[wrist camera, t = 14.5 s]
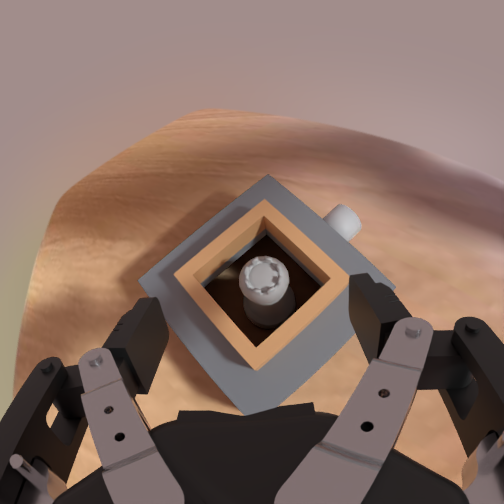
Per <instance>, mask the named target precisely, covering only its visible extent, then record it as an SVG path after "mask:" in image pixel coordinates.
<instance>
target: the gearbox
mask: <svg viewBox="0 0 504 504" xmlns="http://www.w3.org/2000/svg"><path fill="white" fill-rule="evenodd" d="M360 230H361V222H360V220H359V218H358V216H357V215H356V214H355V212H354V211H353V210H351V209H350V208H349V207H347V206H345V205H342V204H339V205H337V206H336V207H335V208H334V209H333V210H332V211H331V212H329V213H328V214H327V215H326V216H325V217H324V218H323V219H322V218H321V217H319V216H318V215H317V214H316V213H315V212H314V211H312V210H311V209H310V208H309V207H308V206H307V205H305V204H304V203H303V202H302V201H301V200H299V199H298V198H297V197H296V196H295V195H293V194H292V193H291V192H290V191H289V190H287V189H286V188H285V187H284V186H282V185H281V184H280V183H279V182H278V181H276V180H275V179H274V178H273V177H271V176H270V175H269V174H267V175H266V176H265V177H264V178H262V179H261V180H260V181H258V182H257V183H256V184H254V185H253V186H252V187H251V188H249V189H248V190H247V191H245V192H244V193H243V194H242V195H240V196H239V197H238V198H236V199H235V200H234V201H233V202H231V203H230V204H229V205H228V206H226V207H225V208H224V209H222V210H221V211H220V212H219V213H217V214H216V215H215V216H214V217H213V218H211V219H210V220H209V221H208V222H206V223H205V224H204V225H203V226H201V227H200V228H199V229H198V230H197V231H195V232H194V233H193V234H192V235H190V236H189V237H188V238H187V239H186V240H184V241H183V242H182V243H181V244H180V245H178V246H177V247H176V248H175V249H174V250H172V251H171V252H170V253H169V254H168V255H167V256H165V257H164V258H163V259H162V260H161V261H159V262H158V263H157V264H156V265H155V266H154V267H153V268H151V269H150V270H149V271H148V272H147V273H146V274H144V275H143V276H142V277H141V278H140V279H139V280H138V282H139V283H140V285H141V286H142V288H143V289H144V291H145V292H146V293H147V295H148V296H149V298H150V297H157V298H158V300H159V302H160V305H161V308H162V311H163V314H164V318H165V320H166V321H167V323H168V324H169V325H170V327H171V328H172V329H173V331H174V332H175V333H176V335H177V336H178V337H179V339H180V340H181V341H182V342H183V344H184V345H185V346H186V348H187V349H188V350H189V351H190V353H191V354H192V355H193V356H194V358H195V359H196V360H197V361H198V363H199V364H200V365H201V366H202V367H203V369H204V370H205V371H206V372H207V374H208V375H209V376H210V377H211V378H212V379H213V381H214V382H215V383H216V384H217V385H218V386H219V388H220V389H221V390H222V391H223V392H224V393H225V395H226V396H227V397H228V398H229V399H230V400H231V401H232V402H233V404H234V405H235V406H236V407H237V408H238V409H239V410H240V411H241V412H242V413H243V414H244V416H246V415H250V414H254V413H258V412H261V411H265V410H269V409H272V408H275V407H277V406H278V405H280V404H281V403H282V402H283V401H284V400H285V399H287V398H288V397H289V396H290V395H291V394H292V393H293V392H295V391H296V390H297V389H298V388H299V387H300V386H301V385H302V384H304V383H305V382H306V381H307V380H308V379H309V378H310V377H311V376H312V375H313V374H314V373H316V372H317V371H318V370H319V369H320V368H321V367H322V366H323V365H324V364H325V363H326V362H327V361H328V360H329V359H330V358H331V357H332V356H333V355H334V354H335V353H336V352H337V351H338V350H339V349H340V348H341V347H342V346H343V345H344V344H345V343H346V342H347V341H348V340H349V339H350V338H351V337H352V336H353V335H354V334H355V331H354V328H353V326H352V324H351V321H350V318H349V309H348V306H349V276H350V275H354V274H361V273H368V274H369V275H370V276H371V278H372V279H373V280H374V282H375V283H380V282H381V283H383V284H385V285H386V286H388V287H390V288H391V289H392V291H393V290H394V289H395V288H396V286H395V285H394V284H393V283H392V282H391V281H390V280H388V279H387V278H386V277H385V276H384V275H383V274H382V273H381V272H380V271H379V270H378V269H377V268H376V267H375V266H374V265H373V264H372V263H371V262H370V261H368V260H367V259H366V258H365V257H364V256H363V255H362V254H361V253H360V252H359V251H358V250H357V249H355V248H354V247H353V246H352V245H351V244H350V243H349V241H350V240H351V239H352V238H353V237H354V236H355V235H356V234H357V233H358V232H359V231H360ZM266 234H267V235H268V236H269V237H270V238H271V239H272V240H273V241H274V242H275V243H276V244H277V245H278V246H279V247H280V248H281V249H282V250H284V251H285V252H286V253H287V254H288V255H289V256H290V257H291V258H292V259H293V260H294V261H295V262H296V263H297V264H298V265H299V266H300V267H301V268H302V269H303V270H304V271H305V272H306V273H307V274H308V275H309V276H311V277H312V278H313V279H314V280H315V281H316V282H317V283H318V284H319V285H320V286H321V288H320V289H319V290H318V291H317V292H316V293H315V294H314V295H313V296H312V297H311V298H310V299H309V300H308V301H307V302H306V303H305V304H304V305H303V306H302V307H301V308H299V309H298V310H297V311H296V312H295V313H294V314H293V315H292V316H291V317H290V318H289V319H288V320H286V321H285V322H284V323H283V324H282V325H281V326H280V327H279V328H278V329H277V330H275V331H274V332H273V333H272V334H271V335H270V336H269V337H268V338H267V339H265V340H264V341H263V342H262V343H261V344H260V345H259V346H257V347H255V345H254V344H253V343H252V342H251V341H250V340H249V339H248V338H247V337H246V336H245V334H244V333H243V332H242V331H241V330H240V329H239V328H238V327H237V325H236V324H235V323H234V322H233V321H232V320H231V319H230V318H229V316H228V315H227V314H226V313H225V312H224V311H223V310H222V308H221V307H220V306H219V305H218V304H217V303H216V301H215V300H214V299H213V298H212V297H211V296H210V294H209V293H208V292H207V291H206V290H205V289H204V287H205V286H206V285H207V284H209V283H210V282H211V281H212V280H213V279H215V278H216V277H217V276H218V275H219V274H220V273H222V272H223V271H224V270H225V269H226V268H227V267H229V266H230V265H231V264H232V263H233V262H234V261H236V260H237V259H238V258H239V257H240V256H242V255H243V254H244V253H245V252H246V251H247V250H249V249H250V248H251V247H252V246H253V245H254V244H256V243H257V242H258V241H259V240H260V239H262V238H263V237H264V236H265V235H266Z"/></svg>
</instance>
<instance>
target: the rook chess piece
mask: <svg viewBox="0 0 504 504" xmlns="http://www.w3.org/2000/svg"><path fill="white" fill-rule="evenodd" d="M239 286H240V288H241V290H242V292H243V294H244V298H243V304H244V311H245V313H246V315H247V317H248V319H249V320H250V321H251V322H252V323H253V324H255V325H256V326H258V327H261V328H264V329H274V328H278V327H280V326H281V325H282V324H283V323H284V322H285V321H286V320H288V319H289V318H290V317H291V316H292V315H293V313H294V310H295V307H296V303H295V296H294V292H293V291H292V289H291V287H290V285H289V275H288V271H287V269H286V268H285V266H284V264H283V263H281V262H280V261H279V260H277V259H276V258H273V257H269V256H261V257H255V258H253V259H251V260H250V261H248V262H247V264H246V265H245V266H244V267H243V268H242V270H241V273H240V275H239Z"/></svg>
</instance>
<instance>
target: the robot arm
mask: <svg viewBox="0 0 504 504" xmlns="http://www.w3.org/2000/svg"><path fill="white" fill-rule="evenodd" d="M348 309H349V318H350V321H351V324H352V326H353V328H354V331H355V333H356V335H357V337H358V340H359V342H360V344H361V347H362V349H363V351H364V353H365V356H366V358H367V360H368V363H369V366H368V368H367V370H366V372H365V374H364V375H363V377H362V379H361V381H360V382H359V384H358V386H357V388H356V389H355V391H354V393H353V394H352V396H351V398H350V399H349V401H348V402H347V404H346V406H345V407H344V409H343V410H342V412H341V414H340V415H339V416H338V415H334V414H330V413H325V412H315V410H314V404H313V402H311V403H303V404H296V405H287V406H279V407H275V408H272V409H269V410H265V411H261V412H258V413H254V414H250V415H246V416H239V415H233V414H227V413H221V412H215V411H179V413H178V417H177V420H174V421H170V422H167V423H164V424H161V425H159V426H157V427H155V428H153V429H151V427H150V426H149V424H148V422H147V420H146V418H145V416H144V415H143V413H142V411H141V409H140V407H139V405H138V403H137V401H136V400H135V396H136V394H148V392H149V389H150V387H151V384H152V381H153V379H154V376H155V373H156V371H157V368H158V366H159V363H160V360H161V358H162V355H163V353H164V350H165V348H166V345H167V342H168V339H169V331H168V327H167V324H166V321H165V318H164V314H163V311H162V308H161V305H160V302H159V300H158V298H157V297H150V298H140V299H139V300H138V301H137V303H136V304H135V306H134V307H133V309H132V310H130V311H128V312H127V313H126V314H125V315H123V316H122V317H121V319H120V320H119V322H118V323H117V325H116V326H115V328H114V329H113V331H112V332H111V334H110V336H109V337H108V339H107V340H106V342H105V343H104V345H103V346H102V348H96V349H93V350H90V351H88V352H87V353H85V354H84V355H83V356H82V357H81V358H80V360H79V363H78V365H73V366H68V367H64V365H63V363H62V361H61V360H60V359H59V358H57V357H50V358H47V359H44V360H42V361H41V362H40V363H38V364H37V366H36V367H35V368H34V370H33V371H32V373H31V374H30V375H29V377H28V378H27V380H26V381H25V383H24V384H23V386H22V388H21V389H20V391H19V392H18V394H17V395H16V397H15V398H14V400H13V402H12V403H11V405H10V406H9V408H8V410H7V412H6V413H5V415H4V416H3V418H2V420H1V422H0V504H504V344H503V343H502V342H501V341H500V339H499V338H498V337H497V336H496V334H495V333H494V332H493V331H492V330H491V328H490V327H489V326H488V325H487V324H486V323H485V322H484V321H482V320H481V319H478V318H475V317H463V318H460V319H459V320H457V321H456V323H455V326H454V330H444V331H437V330H433V328H432V326H431V324H430V323H429V322H427V321H425V320H423V319H421V318H415V317H412V316H411V314H410V313H409V312H408V310H407V309H406V308H405V306H404V305H403V304H402V302H401V301H399V298H398V297H397V296H395V293H394V292H393V291H392V289H391V288H390V287H388V286H386V285H385V284H383V283H381V282H380V283H375V282H374V280H373V279H372V278H371V276H370V275H369V274H368V273H361V274H354V275H350V276H349V306H348ZM474 378H475V379H474ZM433 389H438V391H439V393H440V395H441V397H442V399H443V401H444V403H445V406H446V408H447V410H448V412H449V414H450V417H451V419H452V421H453V423H454V426H455V428H456V430H457V433H458V435H459V437H460V440H461V442H462V445H463V447H464V450H465V452H466V455H467V457H468V459H467V460H466V462H465V463H464V465H463V468H462V481H463V484H462V489H461V488H460V487H459V486H458V485H457V484H455V483H454V482H452V481H450V480H448V479H447V478H445V477H443V476H441V475H439V474H437V473H435V472H434V471H432V470H430V469H428V468H426V467H425V466H423V465H421V464H419V463H417V462H416V461H414V460H412V459H411V458H409V457H407V456H405V455H404V454H402V453H400V452H399V451H397V450H395V449H394V447H395V445H396V443H397V440H398V438H399V436H400V433H401V431H402V428H403V426H404V424H405V421H406V419H407V416H408V414H409V411H410V409H411V406H412V403H413V401H414V398H415V395H416V392H417V390H433ZM52 403H53V404H54V406H55V407H56V408H57V410H58V411H59V412H58V414H57V416H56V418H55V420H54V422H53V424H52V426H51V428H49V426H48V425H47V422H46V415H47V412H48V410H49V409H50V407H51V405H52ZM88 424H89V428H90V431H91V434H92V437H93V440H94V443H95V446H96V449H97V452H98V455H99V458H100V461H101V463H102V466H101V467H100V468H98V469H97V470H95V471H94V472H92V473H91V474H90V475H88V476H87V477H85V478H84V479H82V480H81V481H79V482H78V483H76V484H75V485H73V486H72V487H70V488H69V489H67V486H66V483H67V480H68V478H69V475H70V472H71V469H72V466H73V463H74V461H75V458H76V455H77V453H78V450H79V447H80V445H81V442H82V439H83V437H84V434H85V432H86V429H87V427H88Z"/></svg>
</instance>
